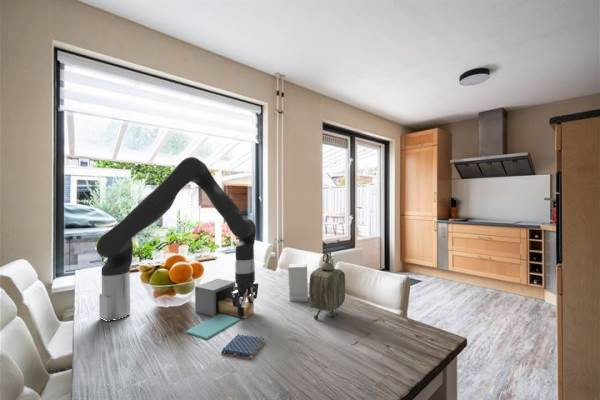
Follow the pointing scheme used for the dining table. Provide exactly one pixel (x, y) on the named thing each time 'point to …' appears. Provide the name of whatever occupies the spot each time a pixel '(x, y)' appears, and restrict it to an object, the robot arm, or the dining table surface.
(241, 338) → the woven mat
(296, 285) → the skincare box
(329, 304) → the tabletop clock
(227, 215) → the robot arm
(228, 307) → the oak plank
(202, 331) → the teal mat
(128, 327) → the dining table surface
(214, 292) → the cubby shelf
